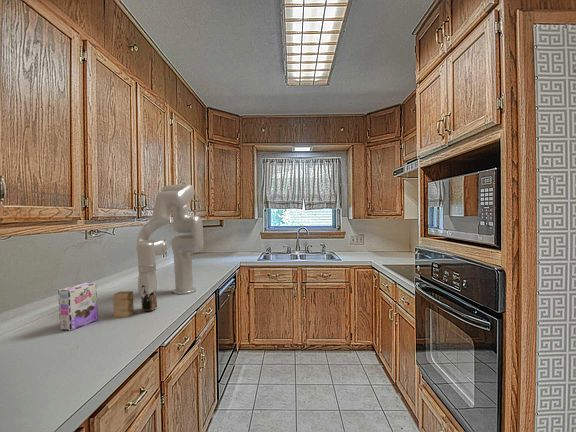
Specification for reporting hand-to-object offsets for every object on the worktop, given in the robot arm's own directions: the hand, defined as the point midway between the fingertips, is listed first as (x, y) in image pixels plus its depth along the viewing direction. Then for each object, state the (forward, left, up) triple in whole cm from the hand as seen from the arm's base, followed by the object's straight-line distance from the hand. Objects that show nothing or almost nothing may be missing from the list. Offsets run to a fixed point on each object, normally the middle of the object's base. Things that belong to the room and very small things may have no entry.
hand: (149, 307), depth 172 cm
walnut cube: (0, 0, -1) cm, 1 cm away
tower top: (+6, -9, +3) cm, 11 cm away
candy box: (+20, -21, -2) cm, 29 cm away
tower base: (+6, -9, -2) cm, 11 cm away
